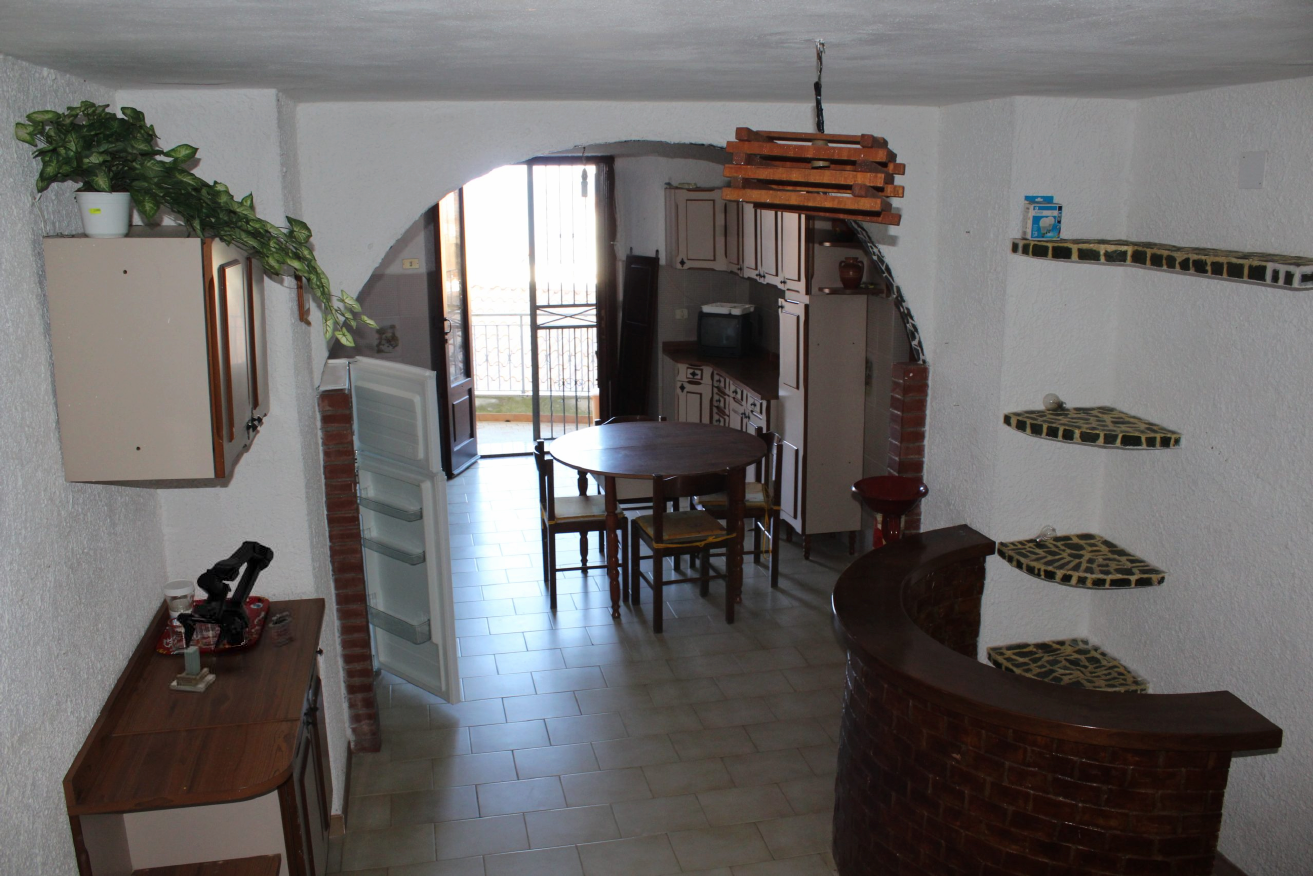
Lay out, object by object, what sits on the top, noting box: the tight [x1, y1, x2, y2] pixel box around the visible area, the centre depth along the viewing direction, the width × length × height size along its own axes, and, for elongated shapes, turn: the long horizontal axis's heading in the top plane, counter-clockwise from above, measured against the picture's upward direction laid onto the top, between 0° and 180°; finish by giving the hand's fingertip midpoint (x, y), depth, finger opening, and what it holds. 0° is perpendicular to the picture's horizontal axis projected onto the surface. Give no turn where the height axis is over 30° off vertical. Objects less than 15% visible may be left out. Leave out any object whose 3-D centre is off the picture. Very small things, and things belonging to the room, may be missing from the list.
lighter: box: [268, 611, 293, 648], centre depth 338 cm, size 8×3×10 cm, turn 146°
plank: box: [183, 645, 202, 676], centre depth 309 cm, size 4×2×10 cm, turn 176°
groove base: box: [169, 667, 216, 693], centre depth 309 cm, size 8×10×4 cm
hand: (201, 648), depth 313 cm, fingers open, 9 cm apart
